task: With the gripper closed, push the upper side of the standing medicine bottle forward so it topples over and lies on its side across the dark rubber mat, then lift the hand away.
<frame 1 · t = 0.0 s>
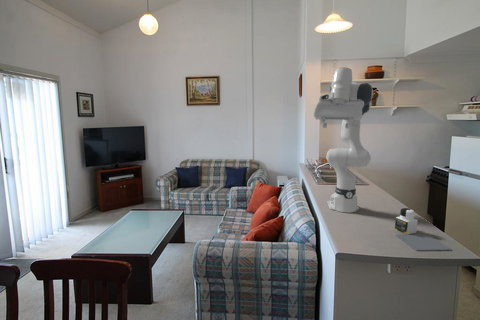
hand: (335, 127, 122), 54 cm above the table, tool tilted 30°, fingers open, 8 cm apart
dark rubber mat: (422, 242, 134), on the table
medicine bottle: (405, 231, 147), on the table
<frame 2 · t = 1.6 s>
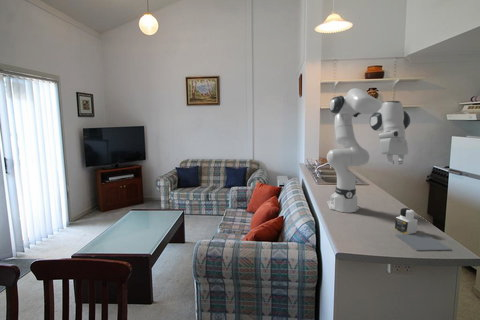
hand: (396, 164, 131), 37 cm above the table, tool pointing down, fingers open, 8 cm apart
nothing on the table moved.
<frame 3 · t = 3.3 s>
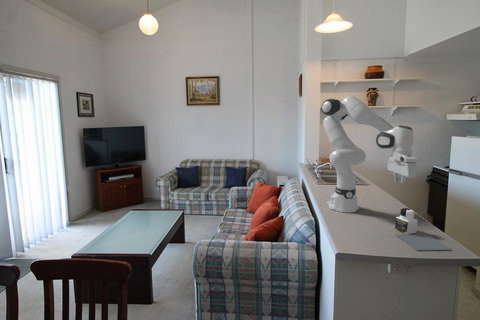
hand: (399, 182, 151), 24 cm above the table, tool pointing down, fingers open, 4 cm apart
nothing on the table moved.
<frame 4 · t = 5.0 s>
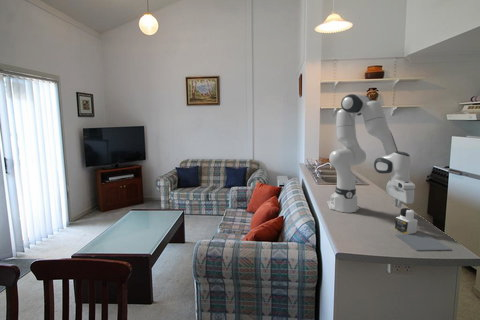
hand: (397, 206, 153), 10 cm above the table, tool pointing down, fingers closed
nothing on the table moved.
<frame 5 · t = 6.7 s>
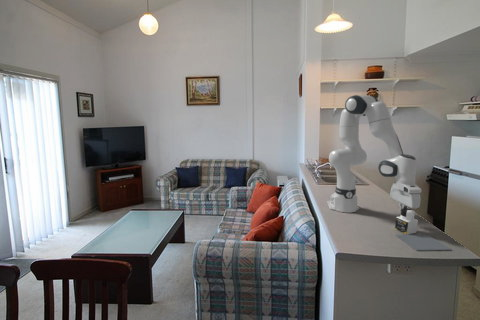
hand: (402, 211, 149), 9 cm above the table, tool pointing down, fingers closed
medicine bottle: (405, 231, 147), on the table, touching gripper
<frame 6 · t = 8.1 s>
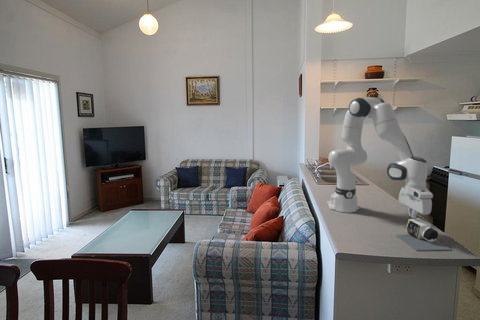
hand: (412, 217, 141), 9 cm above the table, tool pointing down, fingers closed
medicine bottle: (411, 224, 143), point 5 cm above the table, touching dark rubber mat
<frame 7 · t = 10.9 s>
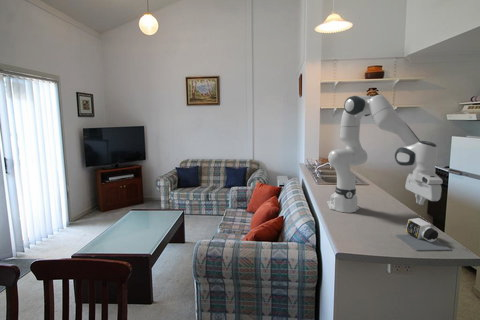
hand: (419, 204, 135), 18 cm above the table, tool pointing down, fingers closed
nothing on the table moved.
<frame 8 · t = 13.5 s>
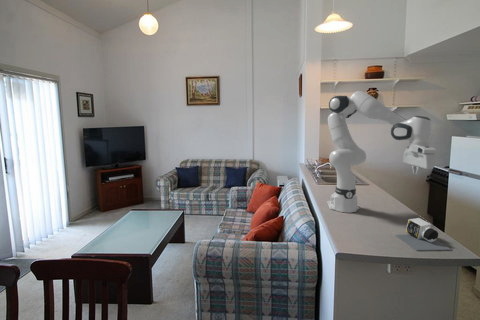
hand: (416, 174, 147), 29 cm above the table, tool pointing down, fingers closed
nothing on the table moved.
at the end: medicine bottle tilted 97°; medicine bottle inside the target area (6.4 cm from its centre), point 5.0 cm above the table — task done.
